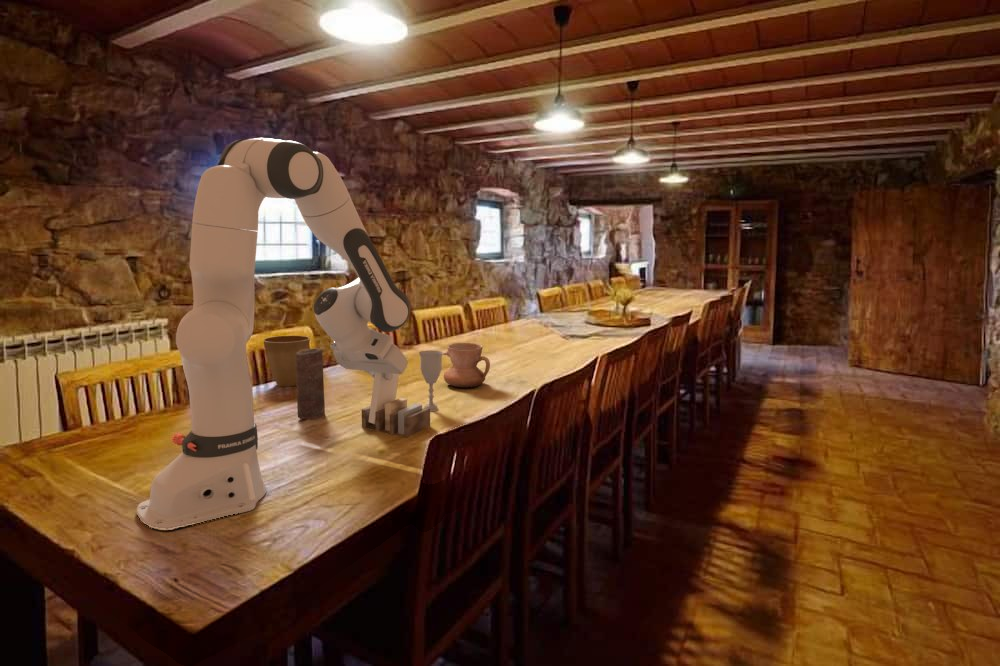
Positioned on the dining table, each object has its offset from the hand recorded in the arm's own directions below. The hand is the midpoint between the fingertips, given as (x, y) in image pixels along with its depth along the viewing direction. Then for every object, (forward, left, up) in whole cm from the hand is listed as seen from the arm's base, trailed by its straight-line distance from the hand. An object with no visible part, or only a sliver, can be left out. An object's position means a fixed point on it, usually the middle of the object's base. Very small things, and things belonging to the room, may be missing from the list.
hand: (384, 377), depth 156 cm
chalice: (+20, +3, -15) cm, 25 cm away
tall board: (0, +2, -12) cm, 12 cm away
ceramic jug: (+50, +18, -15) cm, 55 cm away
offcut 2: (+3, -6, -14) cm, 15 cm away
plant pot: (+7, +62, -15) cm, 64 cm away
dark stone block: (-8, +22, -15) cm, 28 cm away
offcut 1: (+2, -2, -14) cm, 14 cm away
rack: (+2, -2, -15) cm, 15 cm away
